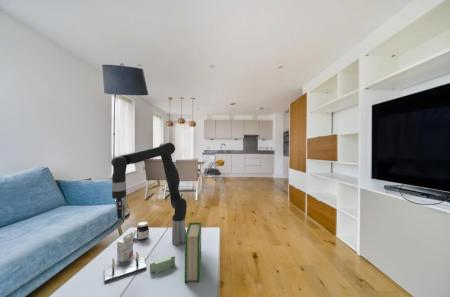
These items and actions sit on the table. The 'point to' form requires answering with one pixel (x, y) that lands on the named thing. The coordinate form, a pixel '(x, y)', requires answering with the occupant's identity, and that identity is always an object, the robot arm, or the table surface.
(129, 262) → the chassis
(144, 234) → the spread jar
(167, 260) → the green tabbed block
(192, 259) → the hardback book
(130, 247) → the ink cartridge box
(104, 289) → the table surface
